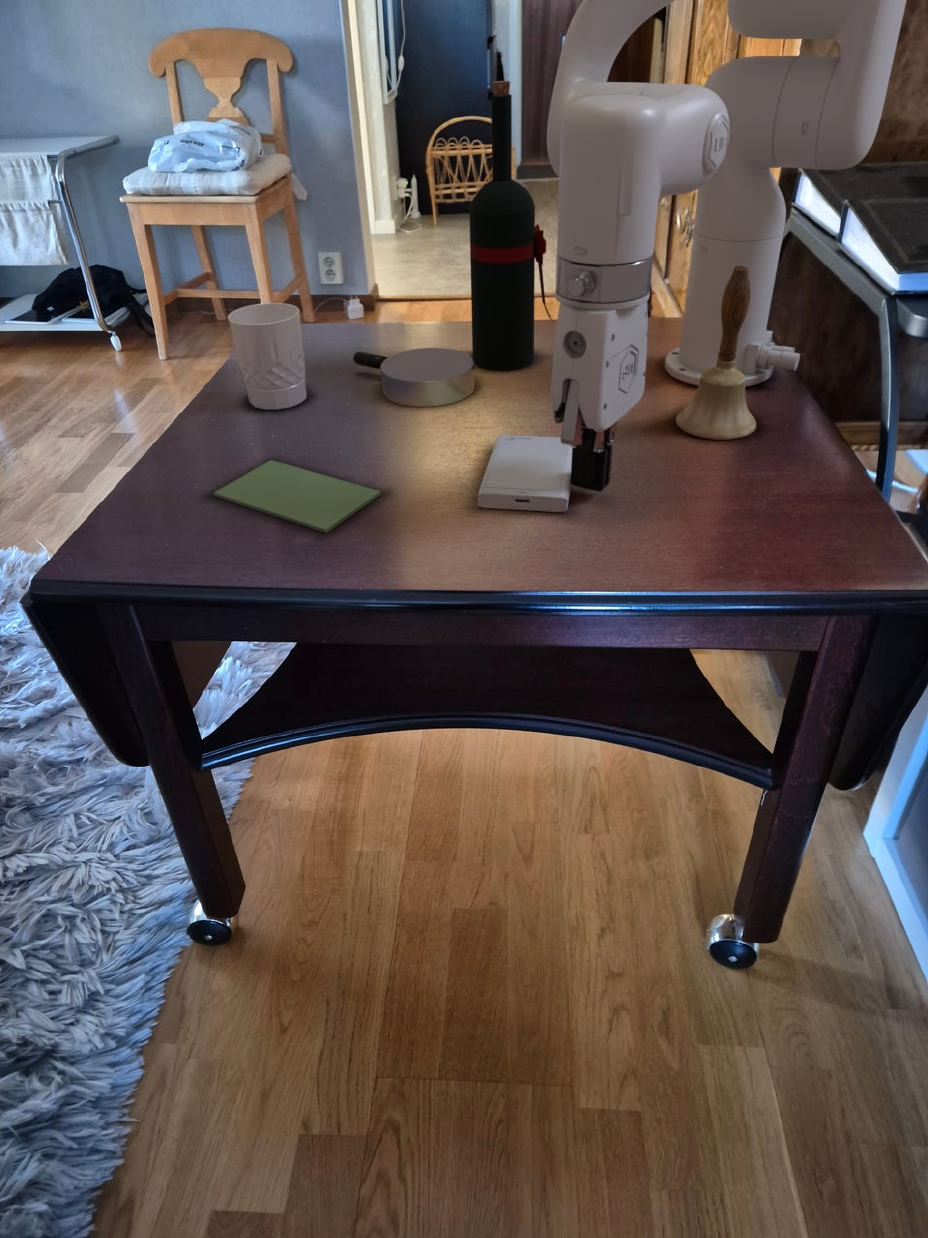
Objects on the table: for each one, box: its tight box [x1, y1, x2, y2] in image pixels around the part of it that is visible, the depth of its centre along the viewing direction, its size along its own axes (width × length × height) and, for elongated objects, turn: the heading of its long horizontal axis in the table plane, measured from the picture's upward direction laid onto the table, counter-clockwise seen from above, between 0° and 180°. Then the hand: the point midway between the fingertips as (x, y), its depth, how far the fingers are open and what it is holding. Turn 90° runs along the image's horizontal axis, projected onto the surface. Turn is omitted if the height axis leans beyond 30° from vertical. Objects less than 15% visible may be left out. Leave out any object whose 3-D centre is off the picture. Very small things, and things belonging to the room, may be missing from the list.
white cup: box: [227, 302, 308, 411], centre depth 97 cm, size 8×8×10 cm
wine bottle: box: [468, 80, 555, 372], centre depth 99 cm, size 8×10×30 cm
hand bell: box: [675, 266, 757, 441], centre depth 85 cm, size 8×8×16 cm
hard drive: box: [477, 434, 572, 513], centre depth 81 cm, size 2×8×12 cm
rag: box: [213, 459, 382, 534], centre depth 80 cm, size 14×8×1 cm, turn 57°
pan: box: [352, 347, 476, 408], centre depth 101 cm, size 16×11×3 cm, turn 57°
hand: (589, 484), depth 78 cm, fingers closed
